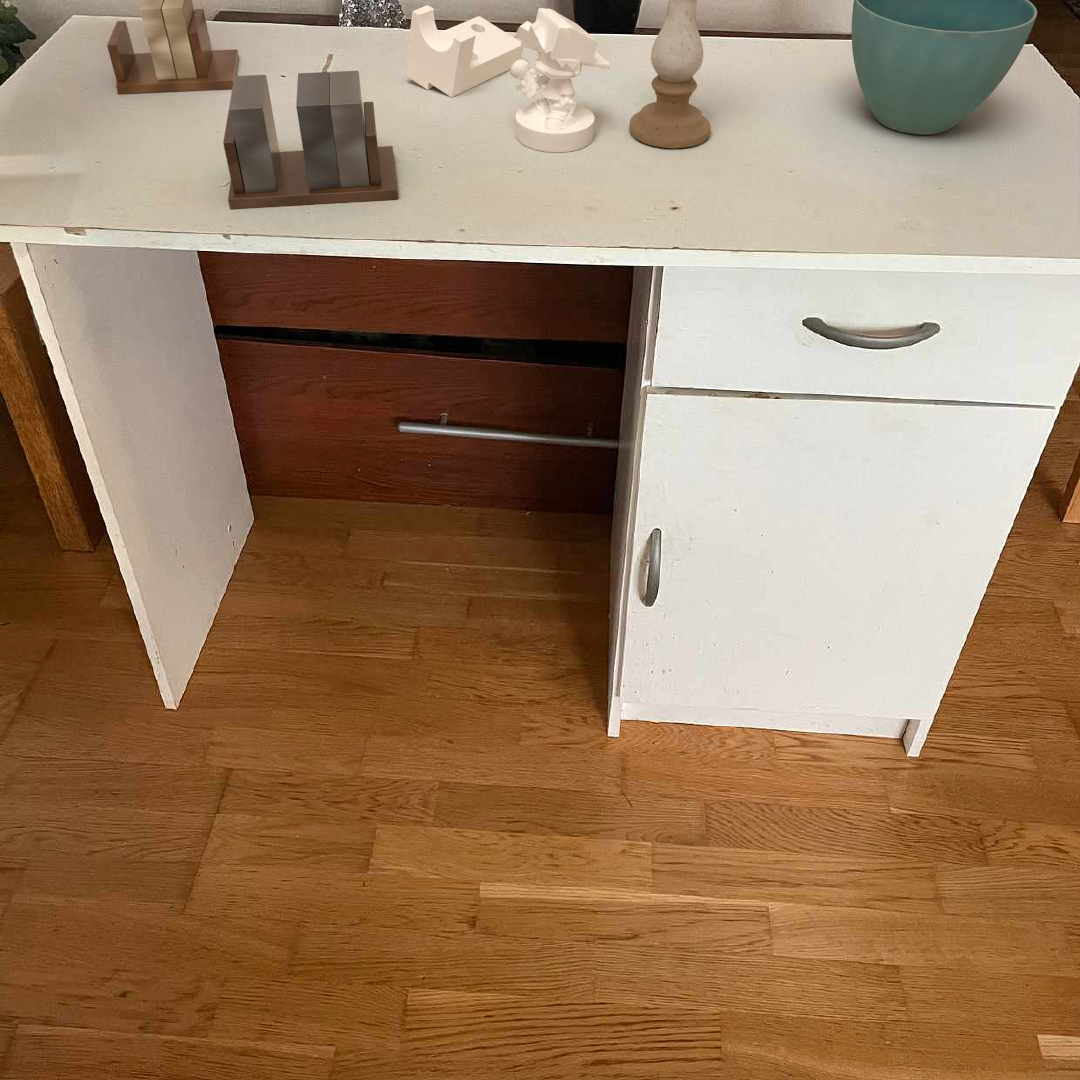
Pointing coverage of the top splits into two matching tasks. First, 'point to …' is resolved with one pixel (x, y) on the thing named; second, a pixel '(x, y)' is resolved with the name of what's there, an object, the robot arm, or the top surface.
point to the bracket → (457, 53)
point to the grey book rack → (306, 145)
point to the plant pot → (934, 57)
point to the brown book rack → (171, 52)
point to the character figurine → (554, 84)
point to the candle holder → (674, 84)
